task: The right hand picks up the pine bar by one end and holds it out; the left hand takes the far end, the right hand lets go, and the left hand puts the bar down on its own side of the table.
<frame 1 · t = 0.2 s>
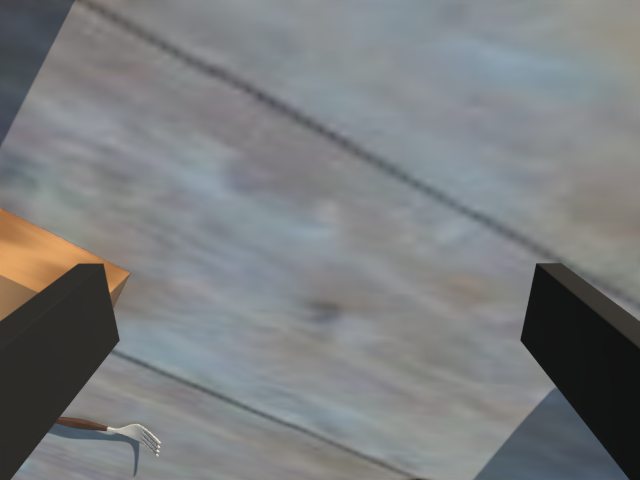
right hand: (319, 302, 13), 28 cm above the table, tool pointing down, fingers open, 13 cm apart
fork: (100, 422, 50), on the table
bar: (5, 238, 41), on the table
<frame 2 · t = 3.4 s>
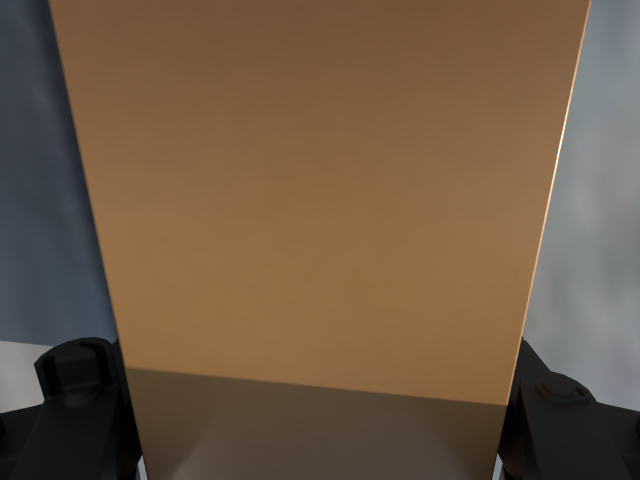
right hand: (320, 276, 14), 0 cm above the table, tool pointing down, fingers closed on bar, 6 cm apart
bar: (319, 20, 12), on the table, touching right hand
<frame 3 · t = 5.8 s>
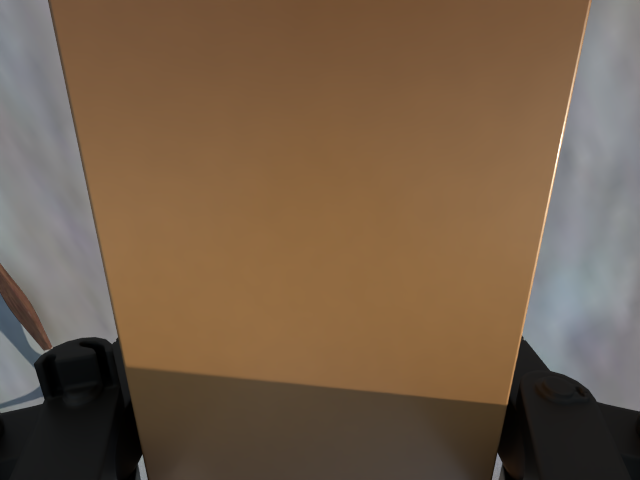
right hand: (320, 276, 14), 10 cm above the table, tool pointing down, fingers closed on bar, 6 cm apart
fork: (45, 328, 27), on the table
bar: (319, 20, 12), point 9 cm above the table, touching right hand
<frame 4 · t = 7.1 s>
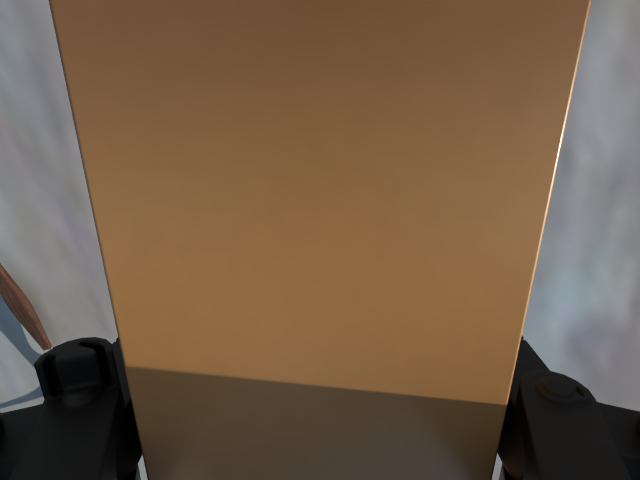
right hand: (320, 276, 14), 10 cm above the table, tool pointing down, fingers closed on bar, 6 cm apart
fork: (45, 328, 27), on the table
bar: (320, 20, 12), point 9 cm above the table, touching right hand, left hand
when the right hand's fingers open (10 cm above the table, at t = 8.2 s): bar stays where it is, held by the left hand.
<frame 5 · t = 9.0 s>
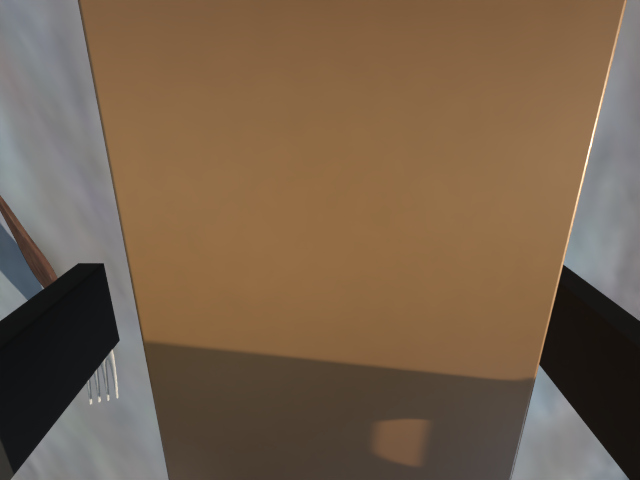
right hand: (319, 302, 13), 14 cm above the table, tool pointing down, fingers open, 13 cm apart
fork: (65, 293, 28), on the table
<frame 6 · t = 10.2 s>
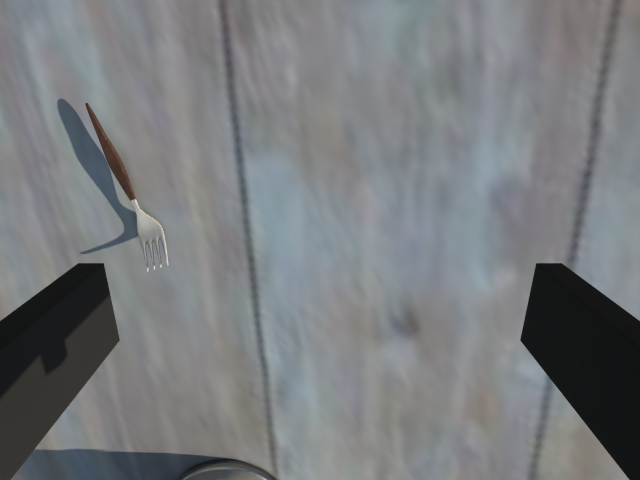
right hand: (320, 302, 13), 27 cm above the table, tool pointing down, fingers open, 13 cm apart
fork: (130, 186, 39), on the table
when the left hand's fingers open (5 cm above the table, at t = 13.3 s): bar drops 1 cm, on the table.
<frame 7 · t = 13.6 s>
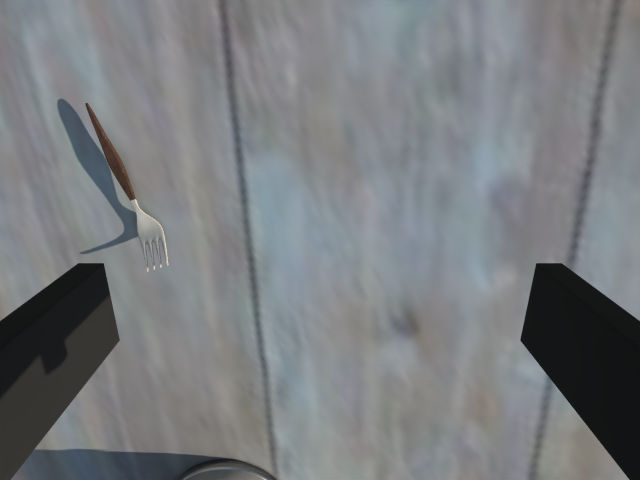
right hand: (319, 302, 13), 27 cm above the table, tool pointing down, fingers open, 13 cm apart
fork: (130, 186, 39), on the table
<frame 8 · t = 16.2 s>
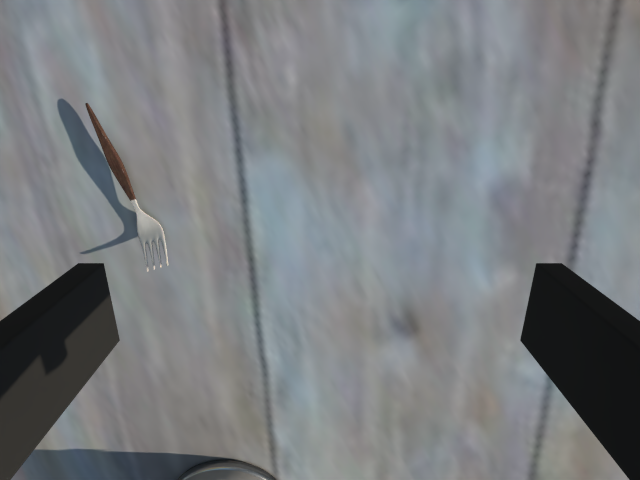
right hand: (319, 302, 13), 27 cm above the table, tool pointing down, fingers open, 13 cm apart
fork: (130, 186, 39), on the table
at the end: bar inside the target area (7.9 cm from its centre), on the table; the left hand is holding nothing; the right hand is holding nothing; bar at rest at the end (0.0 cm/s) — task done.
